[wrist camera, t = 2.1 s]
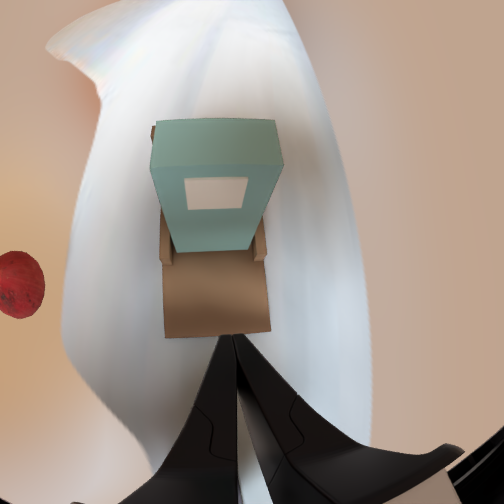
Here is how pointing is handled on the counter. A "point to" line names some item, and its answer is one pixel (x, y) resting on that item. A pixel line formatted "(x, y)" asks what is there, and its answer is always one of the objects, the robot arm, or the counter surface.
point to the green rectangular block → (214, 179)
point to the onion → (20, 284)
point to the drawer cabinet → (213, 288)
